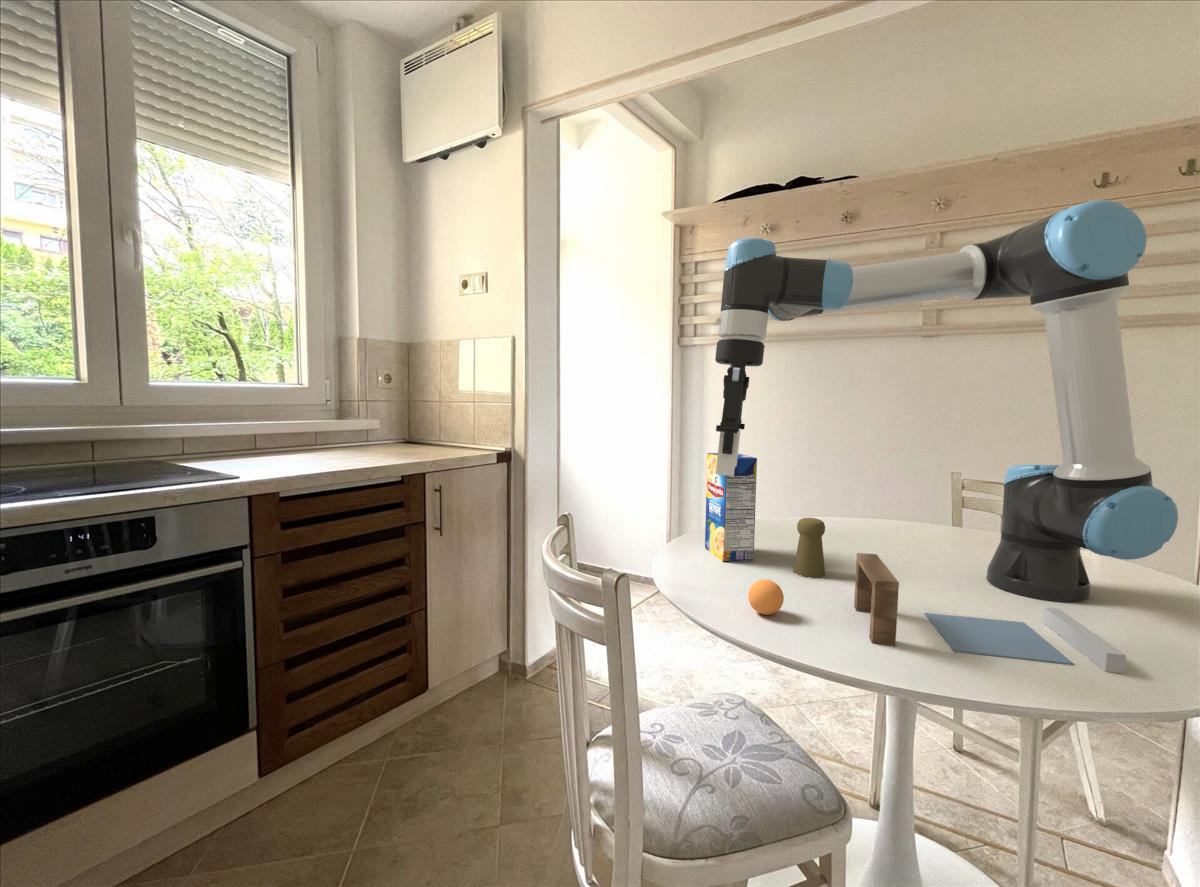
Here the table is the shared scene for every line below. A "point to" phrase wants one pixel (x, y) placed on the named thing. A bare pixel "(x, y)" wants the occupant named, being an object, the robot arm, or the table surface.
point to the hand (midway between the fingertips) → (726, 470)
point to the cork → (810, 548)
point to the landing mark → (995, 638)
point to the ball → (765, 596)
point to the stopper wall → (1085, 641)
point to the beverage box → (731, 510)
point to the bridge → (877, 597)
